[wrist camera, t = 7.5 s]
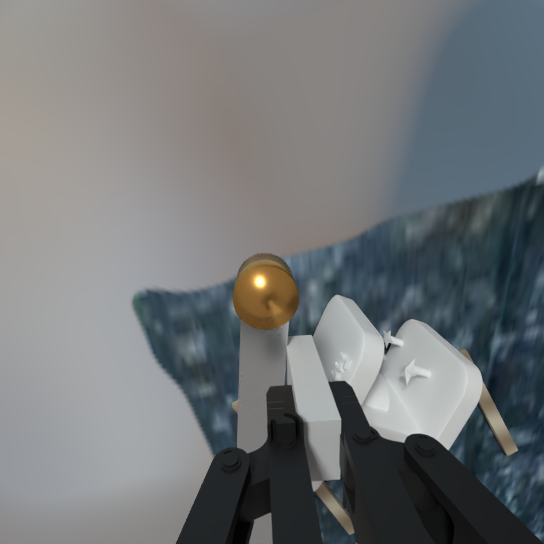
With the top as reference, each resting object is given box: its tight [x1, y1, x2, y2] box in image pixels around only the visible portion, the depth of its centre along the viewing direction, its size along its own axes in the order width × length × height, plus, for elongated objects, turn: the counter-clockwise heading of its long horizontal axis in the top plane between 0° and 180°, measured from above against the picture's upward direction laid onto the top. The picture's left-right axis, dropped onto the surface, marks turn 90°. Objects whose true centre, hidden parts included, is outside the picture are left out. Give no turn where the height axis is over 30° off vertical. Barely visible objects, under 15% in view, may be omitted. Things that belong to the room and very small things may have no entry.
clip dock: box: [232, 349, 518, 535], centre depth 32 cm, size 24×25×13 cm
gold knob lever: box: [233, 253, 299, 544], centre depth 20 cm, size 4×24×3 cm, turn 177°
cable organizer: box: [311, 295, 483, 492], centre depth 30 cm, size 15×11×12 cm
